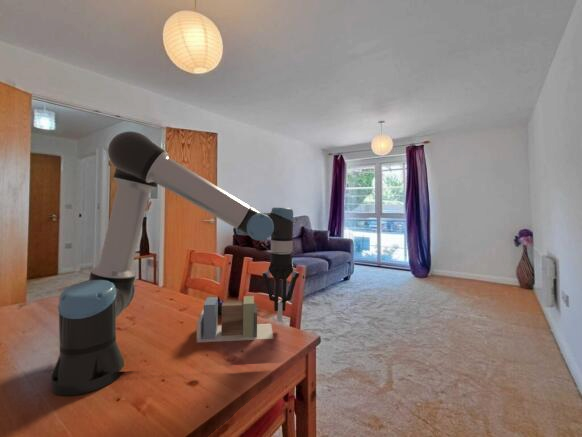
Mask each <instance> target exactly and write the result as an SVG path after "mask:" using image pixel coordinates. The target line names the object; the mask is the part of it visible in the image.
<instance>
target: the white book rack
mask: <svg viewBox="0 0 582 437" xmlns="http://www.w3.org/2000/svg"><path fill="white" fill-rule="evenodd" d="M199 315H200V316H199V318H198V320H197V322H196V343H211V342H215V343H216V342H233V341H234V342H235V341H251V340H254V341H255V340H272V339H274V338H275V337H274V333H273V329H272V328H273V327H272V323H259V324H258V323H257V337H243V335H229V336H221V332H222V325H218V328H217V332H216V336H215V339H204V309H202V311H201V313H200V314H199Z"/></svg>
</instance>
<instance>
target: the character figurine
mask: <svg viewBox="0 0 582 437" xmlns="http://www.w3.org/2000/svg"><path fill="white" fill-rule="evenodd" d="M217 297H218V316H220V317H222V303H223V301H224V300H223V299H222V300H221V299H220V296H217Z"/></svg>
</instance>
